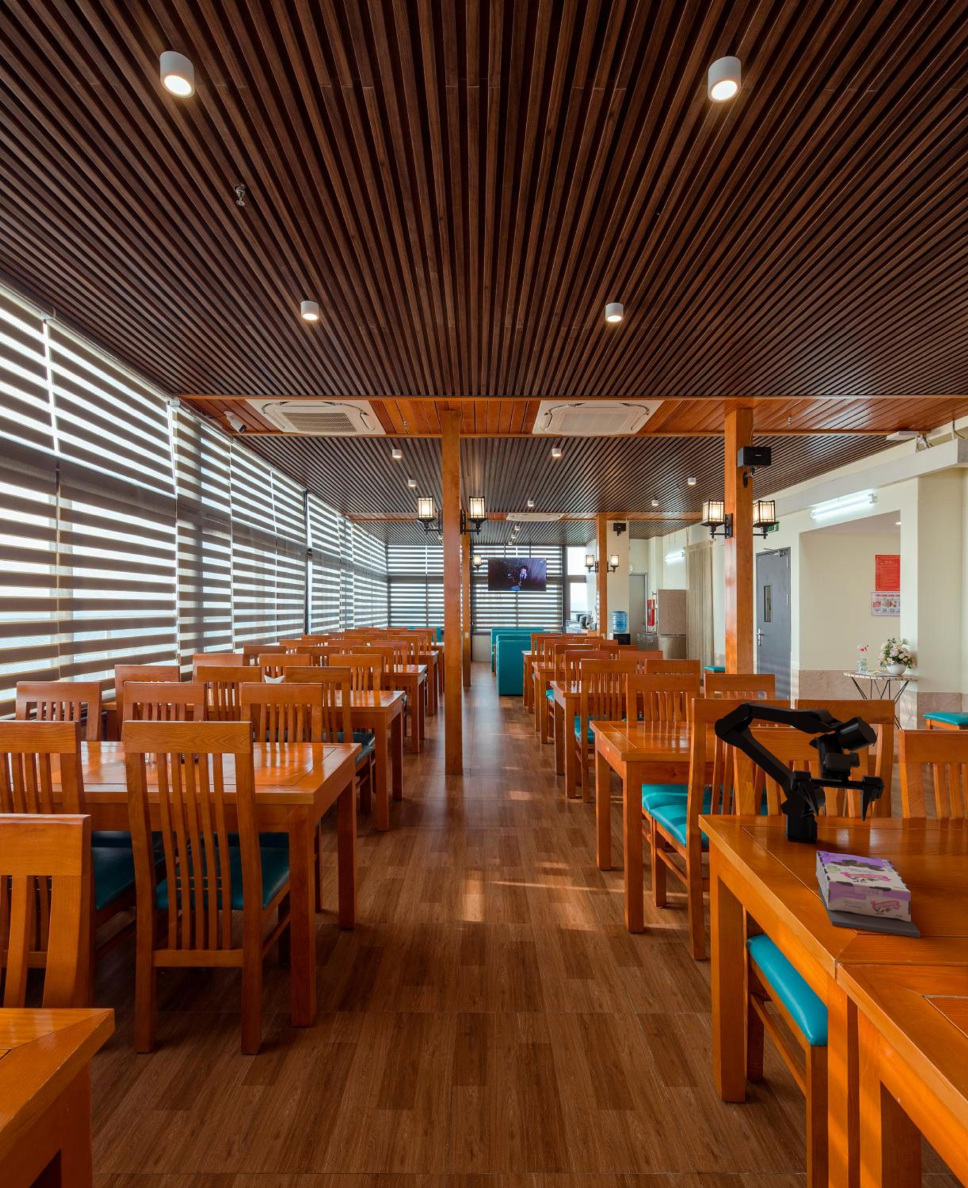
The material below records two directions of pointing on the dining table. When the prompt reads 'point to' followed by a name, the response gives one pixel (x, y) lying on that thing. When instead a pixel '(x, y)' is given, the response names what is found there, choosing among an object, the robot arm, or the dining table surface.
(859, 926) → the mat
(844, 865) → the candy box
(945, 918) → the dining table surface
